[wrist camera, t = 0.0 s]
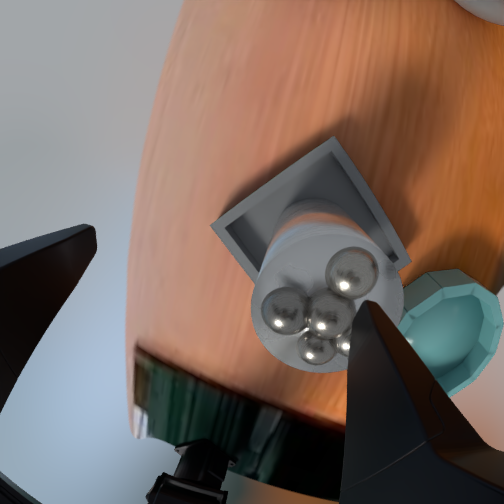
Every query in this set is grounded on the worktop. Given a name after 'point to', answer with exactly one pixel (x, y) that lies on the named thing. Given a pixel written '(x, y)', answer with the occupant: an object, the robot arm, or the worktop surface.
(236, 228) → the parts tray
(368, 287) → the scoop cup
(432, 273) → the bowl
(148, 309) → the worktop surface
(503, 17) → the donut
